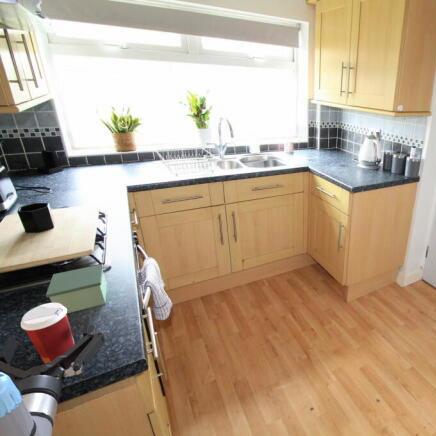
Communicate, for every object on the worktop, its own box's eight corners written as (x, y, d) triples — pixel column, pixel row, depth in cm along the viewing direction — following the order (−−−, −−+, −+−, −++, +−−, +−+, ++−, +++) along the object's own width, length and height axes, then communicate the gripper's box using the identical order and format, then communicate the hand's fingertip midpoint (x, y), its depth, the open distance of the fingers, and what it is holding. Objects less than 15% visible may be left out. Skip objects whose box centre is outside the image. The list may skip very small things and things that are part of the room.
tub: (54, 317, 86) (45, 295, 83) (61, 295, 95) (53, 274, 92) (107, 304, 92) (100, 282, 89) (108, 284, 101) (102, 263, 98)
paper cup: (89, 345, 78) (72, 299, 72) (72, 372, 71) (51, 323, 65) (53, 349, 77) (33, 302, 71) (32, 376, 70) (8, 327, 64)
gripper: (-64, 459, 51) (-16, 363, 67) (119, 391, 62) (121, 324, 79) (-87, 429, 48) (-31, 336, 64) (109, 364, 59) (113, 299, 76)
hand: (52, 329), depth 72 cm, fingers open, 13 cm apart
